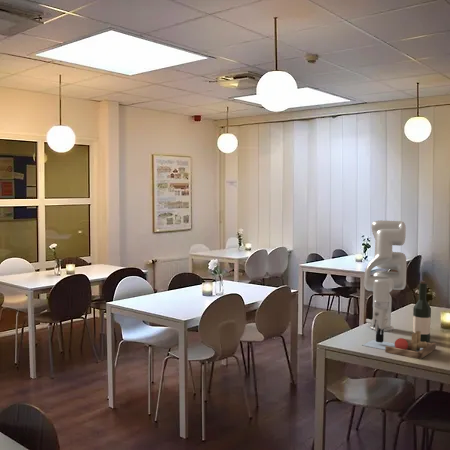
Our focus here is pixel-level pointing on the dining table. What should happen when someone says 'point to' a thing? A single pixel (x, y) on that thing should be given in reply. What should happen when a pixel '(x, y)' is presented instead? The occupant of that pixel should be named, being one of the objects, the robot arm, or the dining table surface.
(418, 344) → the front pin
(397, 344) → the ball
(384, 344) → the lane strip
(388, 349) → the wooden tray
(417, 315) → the wine bottle
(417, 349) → the pin
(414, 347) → the pin
